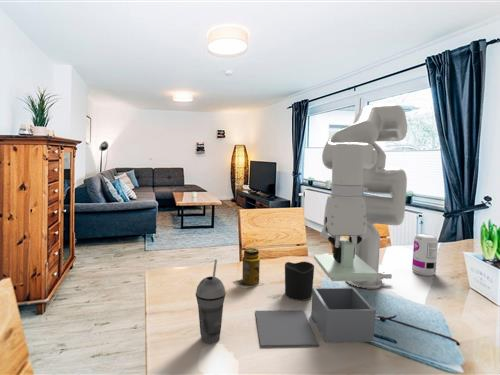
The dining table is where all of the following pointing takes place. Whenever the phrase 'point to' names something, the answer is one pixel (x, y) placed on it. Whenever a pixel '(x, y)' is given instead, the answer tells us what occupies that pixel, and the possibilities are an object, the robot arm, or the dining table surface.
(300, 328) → the dark grey flat plate
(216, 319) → the beverage cup
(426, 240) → the supplement can
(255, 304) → the dining table surface
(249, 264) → the condiment
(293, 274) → the pen holder
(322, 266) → the green slab
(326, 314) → the tub
